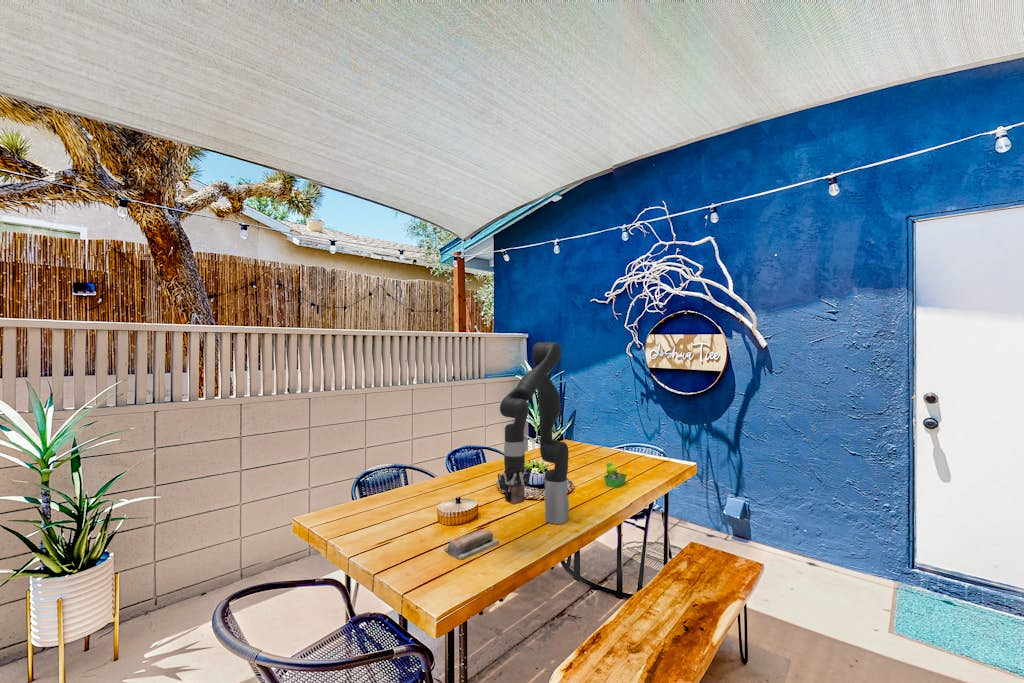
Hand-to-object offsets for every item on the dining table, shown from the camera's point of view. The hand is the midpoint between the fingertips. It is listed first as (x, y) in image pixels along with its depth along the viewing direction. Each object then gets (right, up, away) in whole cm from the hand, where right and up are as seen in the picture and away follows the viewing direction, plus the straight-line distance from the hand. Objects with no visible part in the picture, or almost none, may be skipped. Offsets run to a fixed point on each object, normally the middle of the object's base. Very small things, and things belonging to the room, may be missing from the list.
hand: (514, 499), depth 157 cm
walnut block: (0, -1, 0) cm, 1 cm away
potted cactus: (+53, -18, +69) cm, 89 cm away
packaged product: (-16, -18, 0) cm, 24 cm away
